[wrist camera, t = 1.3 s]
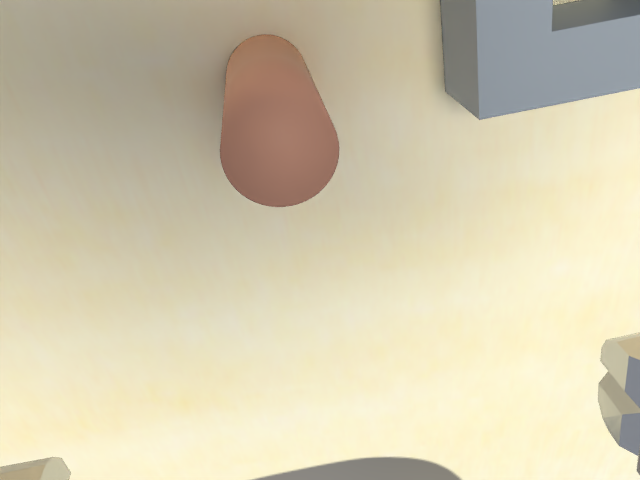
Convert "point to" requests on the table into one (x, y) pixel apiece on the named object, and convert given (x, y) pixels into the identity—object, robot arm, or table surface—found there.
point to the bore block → (538, 52)
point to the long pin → (275, 125)
